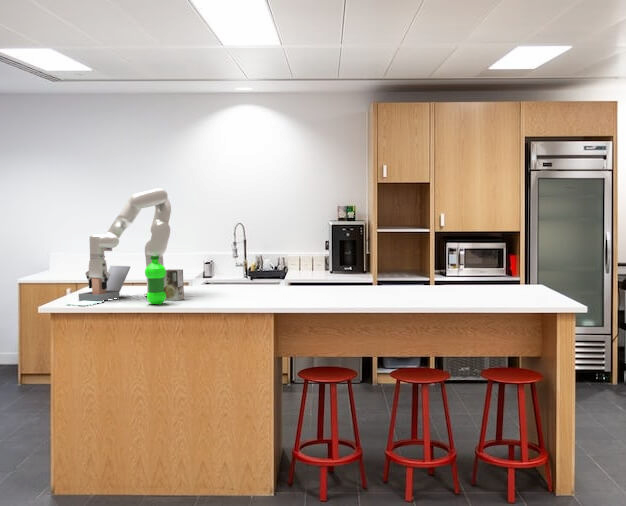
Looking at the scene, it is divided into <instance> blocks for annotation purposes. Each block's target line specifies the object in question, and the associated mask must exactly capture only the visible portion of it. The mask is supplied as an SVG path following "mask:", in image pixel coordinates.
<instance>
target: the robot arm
mask: <svg viewBox="0 0 626 506" xmlns="http://www.w3.org/2000/svg"><path fill="white" fill-rule="evenodd" d="M171 205H172V204H171V202H170V199H169V198H168V192H167V191H166V190H164V189H163V188H161V187H160V188H159V187H158V188H153V189H151V190H148V191H143V192H138V193H133V194H132V195H131V196H130V197H129V198H128V200H127V202H126V203H125V204H124V206H123V208H122V209H121V211H120V212H119V214H118V215H117V216H116V218H115V220H114V221H113V222H112V224H111V225H110V227H109V228H108V229H107V232H106V233H105V234H90V236H89V261H88V262H89V263H88V270H87V271H85V276H86V279H87V281H88V289H92V278H101V280H102V281H103V282H102V289H107V281H108V279H109V276H110V274H109V273H108V266H107V262H106V261H107V260H106V259H105V258H106V256H105V248H109V249H114V248H117V247H118V245H119V244H120V237H122V234H123V233H124V232H125V231H126V229H128V228H129V227H131V225H132V224H133V223H134V221H135V219H136V218H137V217H138V215H139V213H140V212H141V210H142V209H145V208H149V207H153V206H154V208H155V210H154V215H153V216H154V217H153V219H152V222H151V226H150V234H151V236H150V239H149V240H148V241H147V242H146V243H145V246H144V255H145V269H146V268H147V267H148V266H149V265H150V264H151V263H152V260H151V256H159V259H158V262H159V263H160V264H161V265H162V266H164V254H166V251H167V247H168V243H169V239H170V235H171V227H170V225H169V223H170V219H171V218H170V217H171V213H172V206H171ZM164 267H165V266H164ZM147 294H148V278H147V277H146V293H144V294H143V295H146V296H147Z"/></svg>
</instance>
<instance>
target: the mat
mask: <svg viewBox="0 0 626 506" xmlns="http://www.w3.org/2000/svg"><path fill="white" fill-rule="evenodd" d="M100 302H103V301H85V300H84V301H79V300H78V301H74V302H69V303H66V304H67V305H66V306H71V305H78V306H77V307H84V306H85V307H87V306H86V305H90V306H92V305H91V304H95V305H97V304H96V303H100Z"/></svg>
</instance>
